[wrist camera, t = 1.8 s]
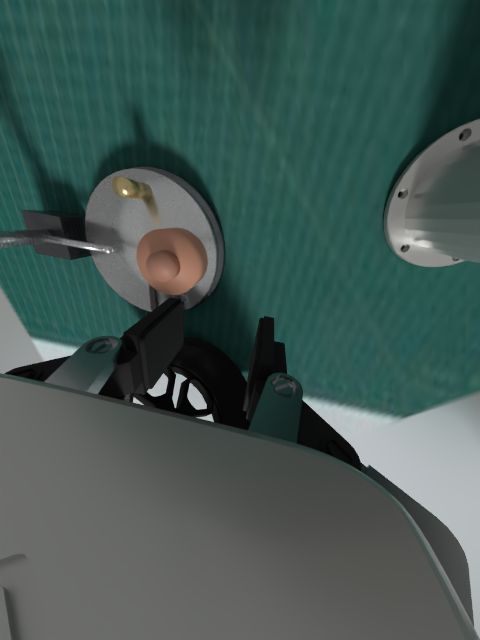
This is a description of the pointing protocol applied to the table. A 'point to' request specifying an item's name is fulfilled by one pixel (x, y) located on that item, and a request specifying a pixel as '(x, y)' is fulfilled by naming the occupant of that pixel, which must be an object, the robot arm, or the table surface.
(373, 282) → the table surface
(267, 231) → the table surface
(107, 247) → the metal lever
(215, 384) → the car wheel rim
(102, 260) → the disc
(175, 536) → the robot arm
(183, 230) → the cover
